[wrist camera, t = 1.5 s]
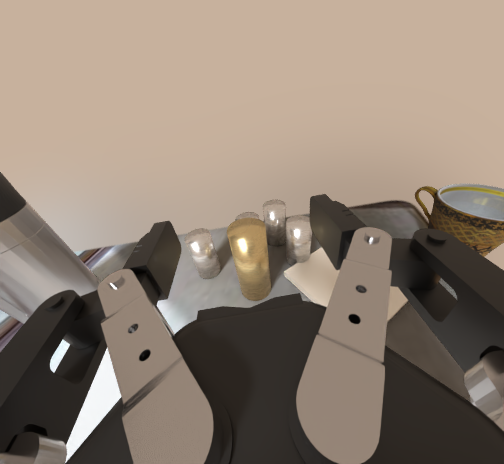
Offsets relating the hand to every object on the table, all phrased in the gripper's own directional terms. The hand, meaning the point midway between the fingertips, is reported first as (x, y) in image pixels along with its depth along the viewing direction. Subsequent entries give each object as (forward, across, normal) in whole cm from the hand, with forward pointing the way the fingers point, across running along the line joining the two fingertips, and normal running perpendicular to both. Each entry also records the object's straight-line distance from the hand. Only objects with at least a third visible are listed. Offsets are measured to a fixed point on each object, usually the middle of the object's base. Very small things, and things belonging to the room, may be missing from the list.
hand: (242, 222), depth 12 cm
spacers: (+16, 0, +19) cm, 25 cm away
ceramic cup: (+13, -31, +20) cm, 40 cm away
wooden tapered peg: (+11, 0, +20) cm, 23 cm away
